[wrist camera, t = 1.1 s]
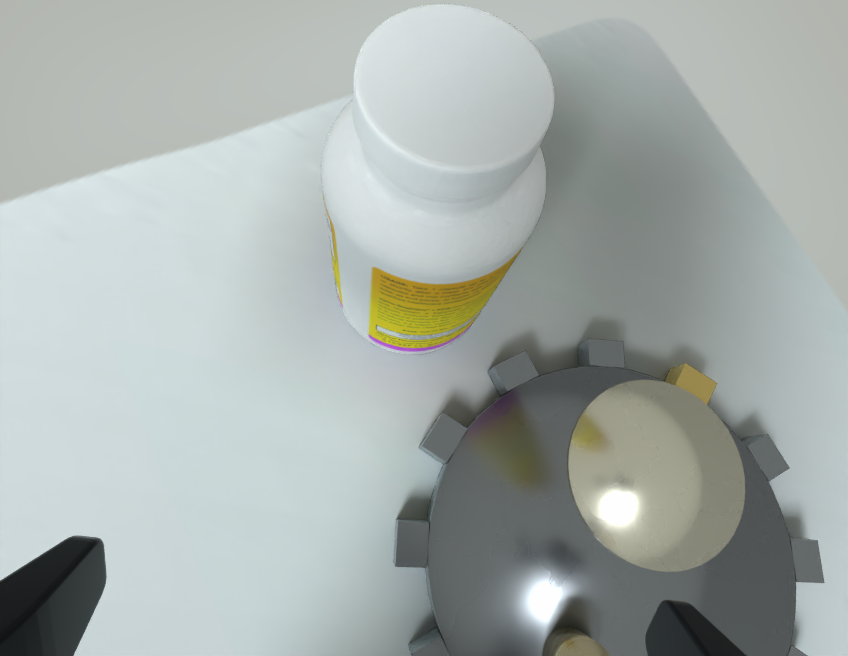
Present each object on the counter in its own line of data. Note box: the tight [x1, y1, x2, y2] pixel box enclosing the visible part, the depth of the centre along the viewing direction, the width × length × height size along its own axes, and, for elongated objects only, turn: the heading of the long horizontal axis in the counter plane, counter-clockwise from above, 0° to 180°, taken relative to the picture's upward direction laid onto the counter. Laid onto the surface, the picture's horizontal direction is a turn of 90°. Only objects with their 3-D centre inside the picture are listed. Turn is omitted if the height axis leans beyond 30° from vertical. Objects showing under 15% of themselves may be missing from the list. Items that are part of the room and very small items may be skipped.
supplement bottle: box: [321, 4, 555, 354], centre depth 18 cm, size 7×7×13 cm
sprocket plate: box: [393, 339, 824, 656], centre depth 20 cm, size 17×17×3 cm
